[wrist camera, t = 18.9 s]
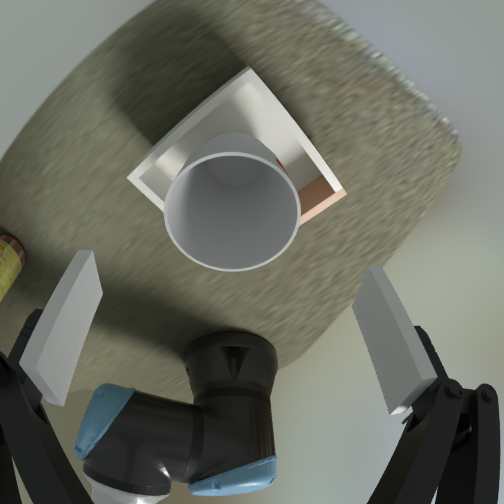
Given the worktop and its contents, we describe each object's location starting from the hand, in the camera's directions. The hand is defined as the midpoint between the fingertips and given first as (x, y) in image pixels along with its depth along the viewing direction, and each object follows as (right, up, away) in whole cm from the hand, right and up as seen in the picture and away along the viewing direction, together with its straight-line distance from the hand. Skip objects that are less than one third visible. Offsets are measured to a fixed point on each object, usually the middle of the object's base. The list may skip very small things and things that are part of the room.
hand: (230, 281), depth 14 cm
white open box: (0, +11, +15) cm, 19 cm away
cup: (-1, +9, +12) cm, 15 cm away
